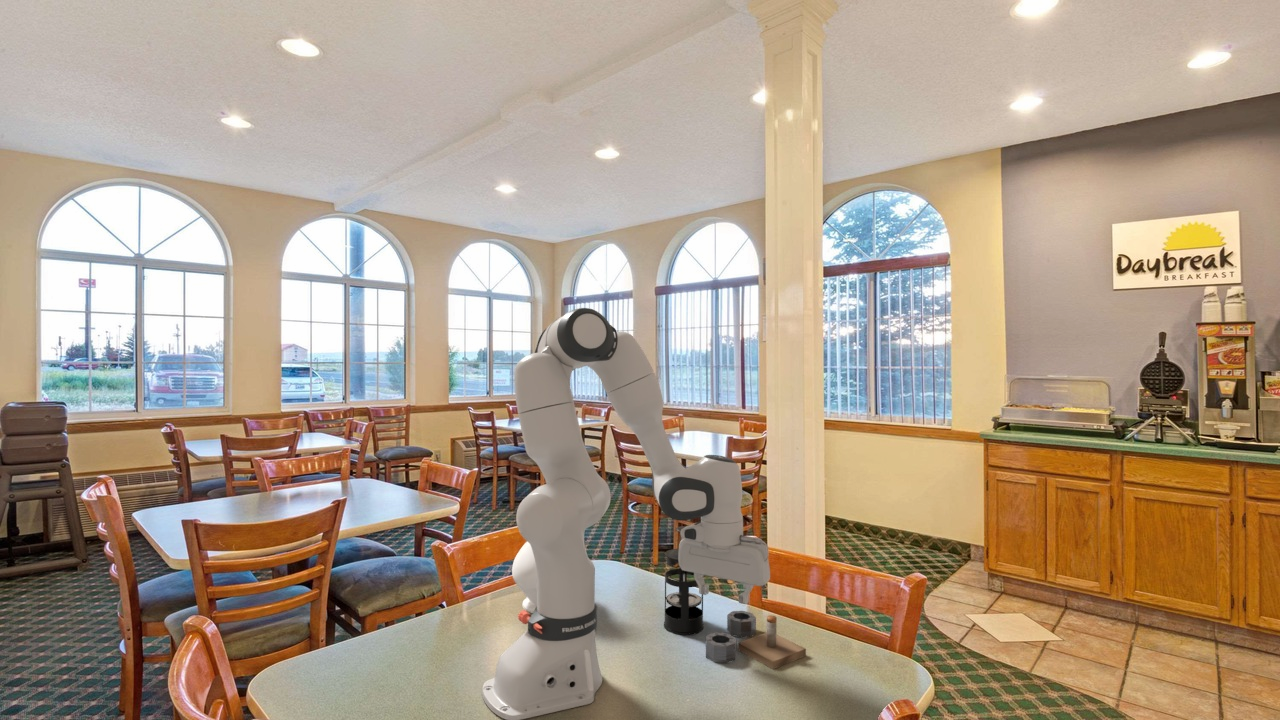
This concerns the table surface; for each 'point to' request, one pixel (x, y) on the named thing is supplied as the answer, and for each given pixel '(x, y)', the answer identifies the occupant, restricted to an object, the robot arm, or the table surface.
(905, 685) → the table surface
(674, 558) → the french press
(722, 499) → the robot arm
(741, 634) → the grey octagonal ring
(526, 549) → the decorative vase
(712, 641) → the grey octagonal nut
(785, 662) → the keeper
